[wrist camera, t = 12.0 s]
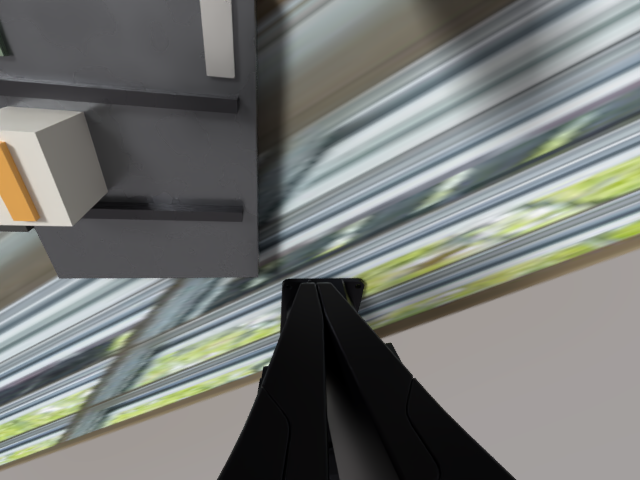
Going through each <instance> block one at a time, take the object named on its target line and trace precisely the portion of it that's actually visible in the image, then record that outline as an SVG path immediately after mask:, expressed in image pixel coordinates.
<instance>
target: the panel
mask: <svg viewBox="0 0 640 480" xmlns="http://www.w3.org/2000/svg"><path fill="white" fill-rule="evenodd" d="M7 106H11V107H24V108H38V109H52V110H66V111H79V112H84V115H85V118H86V121H87V125H88V128H89V131H90V135H91V138H92V141H93V144H94V148H95V151H96V154H97V157H98V161H99V164H100V167H101V170H102V174H103V177H104V180H105V183H106V187H107V190H108V192H107V193H106V194H105V195H104V196H103V197H102V198H101V199H100V200H99V201H98V202H97V203H96V204H95V205H94V206H93V207H92V208H91V209H90V210H89V211H88V212H87V213H86V214H85V215H84V216H83V217H82V218H81V219H80V220H79V221H78V222H77V223H76V224H75V225H74V226H34V227H35V229H36V231H37V233H38V236H39V238H40V240H41V242H42V244H43V246H44V248H45V250H46V252H47V254H48V256H49V258H50V260H51V262H52V264H53V266H54V268H55V271H56V273H57V275H58V277H59V278H202V277H258V271H259V193H258V100H257V7H256V0H0V108H4V107H7Z"/></svg>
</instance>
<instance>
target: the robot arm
mask: <svg viewBox="0 0 640 480" xmlns="http://www.w3.org/2000/svg"><path fill="white" fill-rule="evenodd" d="M357 284H359V285H357ZM287 285H291V286H287ZM363 289H364V283H363V280H362V279H359V278H339V279H286V280H284V281H283V283H282V302H281V325H280V338H279V340H278V343H277V346H276V348H275V351H274V353H273V356H272V358H271V361H270V364H269V366H265V367H263V372H262V378H260V382H259V388H258V394H257V397H256V399H255V402H254V404H253V407H252V409H251V412H250V414H249V416H248V419H247V421H246V423H245V426H244V428H243V430H242V432H241V434H240V436H239V438H238V440H237V442H236V444H235V446H234V448H233V450H232V452H231V455H230V456H229V458H228V460H227V462H226V464H225V466H224V468H223V470H222V471H221V473H220V475H219V477H218V479H217V480H516V479H515V478H514V477H513V476H512V475H511V474H510V473H509V472H508V471H506V469H505V468H504V467H502V466H501V465H500V464H499V463H498V462H497V461H496V460H495V459H494V458H493V457H492V456H491V455H490V454H489V453H488V452H487V451H486V450H485V449H484V448H482V447H481V446H480V445H479V444H478V443H477V442H476V441H475V440H474V439H473V438H472V437H471V436H470V435H469V434H468V433H467V432H466V431H465V430H464V429H463V428H462V427H461V426H460V425H459V424H458V423H457V422H456V421H455V420H454V419H453V418H452V417H451V416H450V415H449V414H448V413H446V411H445V410H444V409H443V408H442V407H441V406H440V405H439V404H438V403H437V402H436V401H435V399H434V398H433V397H431V395H430V394H429V393H428V392H427V391H426V390H425V389H424V388H423V386H422V385H421V384H420V383H419V382H418V381H417V380H416V378H413V375H412V374H411V373H410V372H409V371H408V369H407V368H406V367H405V366H404V365H403V364H402V362H401V360H400V358H399V356H398V355H397V353H396V351H395V349H394V347H393V345H392V343H386V344H385V343H384V342H383V341H382V340H381V339H380V338H379V337H378V335H377V334H376V333H375V332H374V331H373V330H372V329H371V327H370V326H369V325H368V324H367V323H366V322H365V321H364V320H363V318H362V317H361V316H360V315H359V314H358V310H359V306H360V302H361V298H362V293H363Z"/></svg>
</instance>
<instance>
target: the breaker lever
mask: <svg viewBox="0 0 640 480" xmlns="http://www.w3.org/2000/svg"><path fill="white" fill-rule="evenodd" d="M107 192H108V190H107V187H106V183H105V180H104V177H103V174H102V170H101V167H100V164H99V161H98V157H97V154H96V151H95V148H94V144H93V141H92V138H91V135H90V131H89V128H88V125H87V121H86V118H85V115H84V112H79V111H66V110H52V109H38V108H24V107H11V106H7V107H4V108H0V225H25V226H74V225H75V224H76V223H77V222H78V221H79V220H80V219H81V218H82V217H83V216H84V215H85V214H86V213H87V212H88V211H89V210H90V209H91V208H92V207H93V206H94V205H95V204H96V203H97V202H98V201H99V200H100V199H101V198H102V197H103V196H104V195H105V194H106V193H107Z"/></svg>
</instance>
